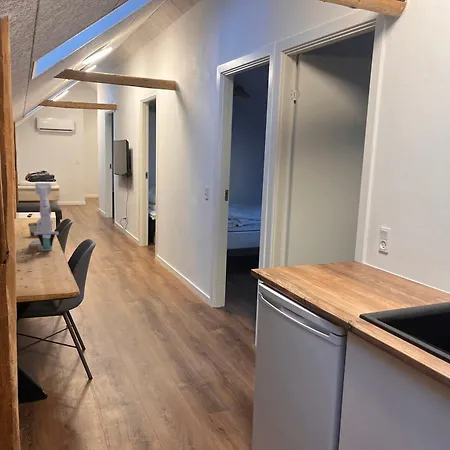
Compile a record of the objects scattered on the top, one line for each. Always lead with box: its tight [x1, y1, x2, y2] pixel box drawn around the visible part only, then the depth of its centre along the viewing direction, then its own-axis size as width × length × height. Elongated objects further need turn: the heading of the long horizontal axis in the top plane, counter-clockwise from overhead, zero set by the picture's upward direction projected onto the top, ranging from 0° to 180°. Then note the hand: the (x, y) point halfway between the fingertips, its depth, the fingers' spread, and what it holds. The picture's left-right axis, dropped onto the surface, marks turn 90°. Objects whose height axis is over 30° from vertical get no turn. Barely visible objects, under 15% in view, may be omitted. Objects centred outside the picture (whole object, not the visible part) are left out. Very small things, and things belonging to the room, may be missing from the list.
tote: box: [28, 239, 55, 252], centre depth 300 cm, size 12×14×5 cm
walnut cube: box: [27, 243, 39, 254], centre depth 290 cm, size 5×5×5 cm
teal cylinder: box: [43, 237, 51, 249], centre depth 292 cm, size 5×5×7 cm
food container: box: [27, 222, 38, 237], centre depth 346 cm, size 12×6×10 cm, turn 84°
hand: (47, 245), depth 292 cm, fingers closed on teal cylinder, 5 cm apart
